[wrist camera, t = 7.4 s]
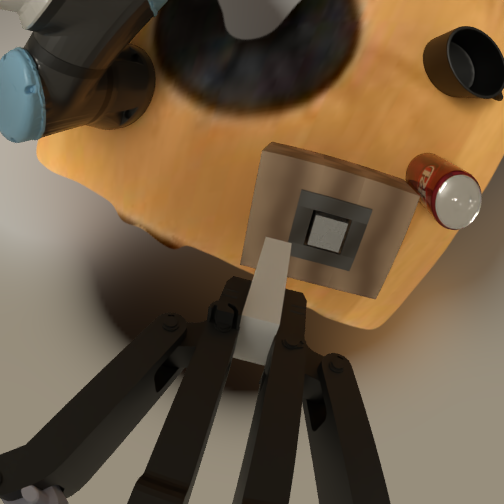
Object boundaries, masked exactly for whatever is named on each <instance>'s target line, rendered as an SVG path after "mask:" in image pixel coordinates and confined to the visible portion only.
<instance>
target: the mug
mask: <svg viewBox="0 0 504 504" xmlns="http://www.w3.org/2000/svg"><path fill="white" fill-rule="evenodd" d="M423 61H424V67H425V70H426V73H427V75H428V77H429V78H430V80H431V81H432V83H433V84H434V85H435V86H436V87H437V88H438V89H439V90H440V91H442V92H443V93H445V94H447V95H449V96H453V97H467V98H483V99H489V98H492V99H494V100H497V101H501V100H502V99H503V95H502V90H503V88H504V58H503V55H502V53H501V51H500V50H499V48H498V46H497V45H496V44H495V42H494V41H493V40H492V39H491V38H490V37H489V36H488V35H487V34H485V33H484V32H482V31H481V30H479V29H476V28H474V27H469V26H462V27H459V28H456V29H454V30H452V31H449V32H447V33H445V34H443V35H441V36H438V37H436V38H434V39H432V40H431V41H430V42H429V43H428V44H427V45H426V47H425V50H424V54H423Z"/></svg>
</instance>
